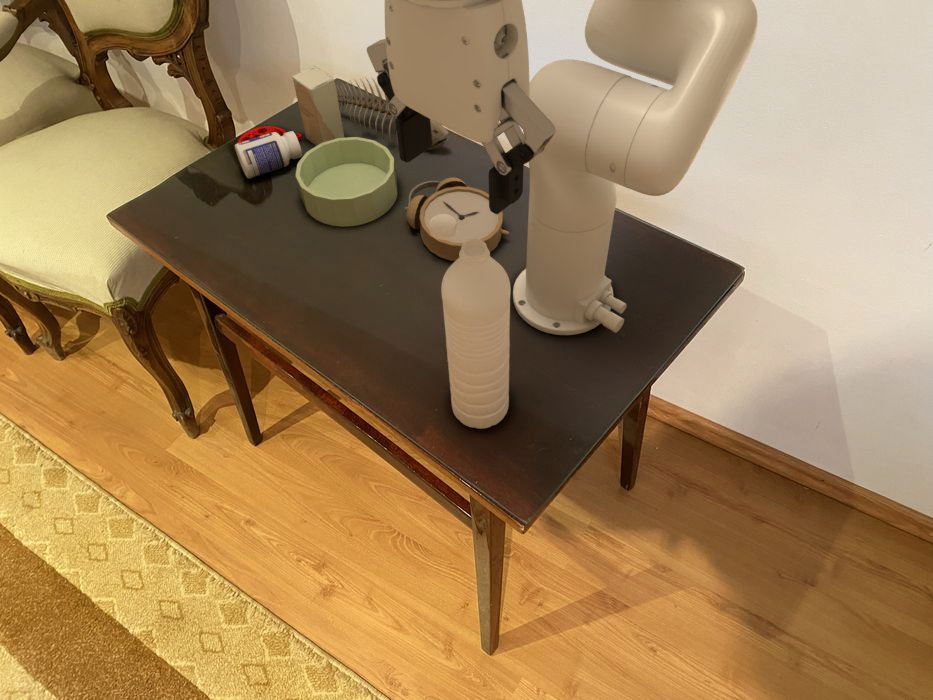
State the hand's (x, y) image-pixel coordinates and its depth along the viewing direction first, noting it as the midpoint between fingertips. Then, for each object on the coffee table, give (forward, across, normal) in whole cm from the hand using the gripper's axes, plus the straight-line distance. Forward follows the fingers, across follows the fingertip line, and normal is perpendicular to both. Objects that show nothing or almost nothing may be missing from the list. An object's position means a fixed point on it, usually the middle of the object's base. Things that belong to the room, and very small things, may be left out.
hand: (459, 177), depth 59 cm
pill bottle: (+30, +54, -8) cm, 62 cm away
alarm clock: (+32, +22, -20) cm, 44 cm away
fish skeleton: (+32, +47, -29) cm, 64 cm away
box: (+32, +51, -22) cm, 64 cm away
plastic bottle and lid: (+32, 0, 0) cm, 33 cm away
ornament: (+32, +60, -11) cm, 69 cm away
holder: (+32, +38, -16) cm, 52 cm away
